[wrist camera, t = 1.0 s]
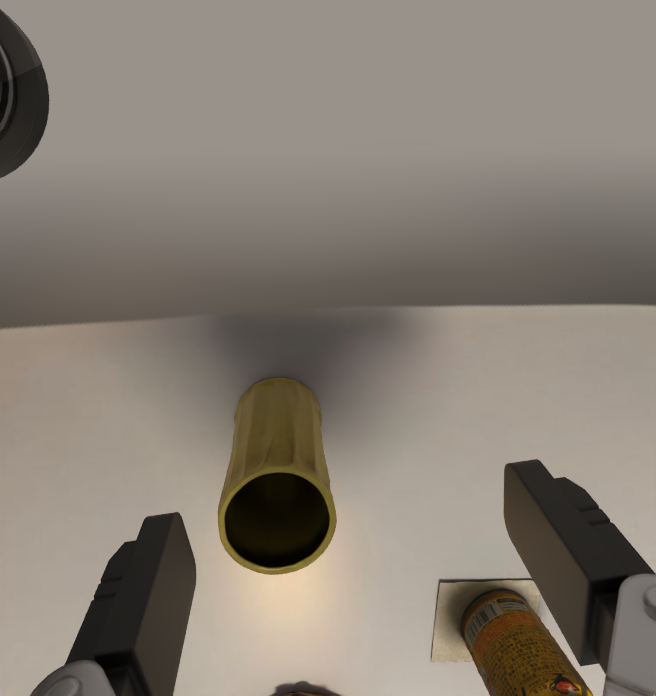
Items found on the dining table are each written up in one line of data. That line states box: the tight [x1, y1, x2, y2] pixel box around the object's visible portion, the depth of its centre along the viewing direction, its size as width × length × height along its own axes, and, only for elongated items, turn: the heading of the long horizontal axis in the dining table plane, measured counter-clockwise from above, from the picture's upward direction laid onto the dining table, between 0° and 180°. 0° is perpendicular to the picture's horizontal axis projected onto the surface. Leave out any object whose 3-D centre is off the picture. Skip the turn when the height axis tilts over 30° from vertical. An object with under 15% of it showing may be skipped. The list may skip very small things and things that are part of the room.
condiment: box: [431, 580, 593, 696], centre depth 35 cm, size 7×8×12 cm
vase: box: [218, 378, 337, 575], centre depth 29 cm, size 6×6×14 cm
